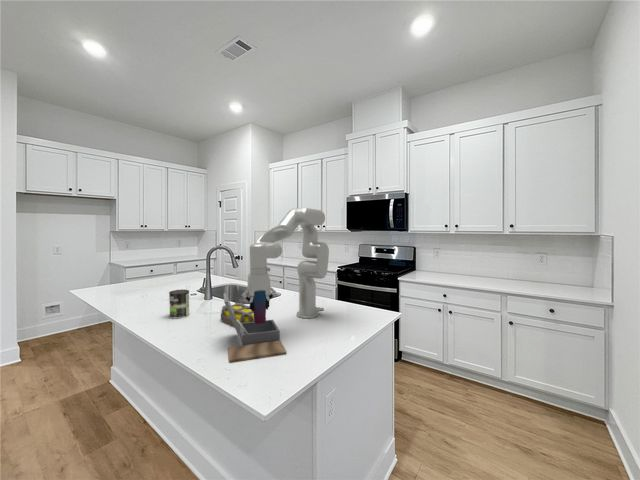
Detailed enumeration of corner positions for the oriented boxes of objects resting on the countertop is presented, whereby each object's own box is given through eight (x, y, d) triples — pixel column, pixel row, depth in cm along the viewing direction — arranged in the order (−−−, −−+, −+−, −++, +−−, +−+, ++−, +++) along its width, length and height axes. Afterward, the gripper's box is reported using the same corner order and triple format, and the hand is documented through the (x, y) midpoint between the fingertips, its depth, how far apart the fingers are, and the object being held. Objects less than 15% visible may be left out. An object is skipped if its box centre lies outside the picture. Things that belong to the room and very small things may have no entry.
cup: (253, 319, 136) (252, 288, 135) (268, 319, 136) (267, 287, 135) (251, 324, 129) (250, 292, 128) (266, 324, 130) (265, 291, 129)
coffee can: (179, 319, 157) (178, 294, 156) (165, 317, 161) (164, 292, 160) (193, 314, 167) (193, 290, 166) (180, 312, 170) (180, 288, 170)
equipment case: (272, 329, 143) (272, 305, 142) (279, 341, 128) (279, 315, 127) (234, 334, 136) (234, 309, 136) (236, 347, 121) (236, 319, 121)
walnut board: (280, 342, 127) (280, 340, 127) (286, 354, 116) (286, 351, 115) (227, 349, 119) (227, 347, 119) (229, 362, 108) (229, 360, 108)
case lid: (225, 292, 134) (223, 293, 134) (227, 301, 119) (224, 302, 119) (238, 322, 137) (235, 324, 137) (241, 335, 122) (238, 336, 122)
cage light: (238, 300, 168) (271, 310, 149) (238, 313, 169) (271, 325, 149) (215, 305, 157) (248, 317, 138) (215, 320, 157) (248, 333, 138)
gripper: (275, 268, 138) (276, 305, 139) (238, 271, 132) (239, 309, 133) (279, 271, 130) (279, 309, 132) (239, 273, 125) (241, 314, 126)
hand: (259, 309), depth 132 cm, fingers closed on cup, 6 cm apart
